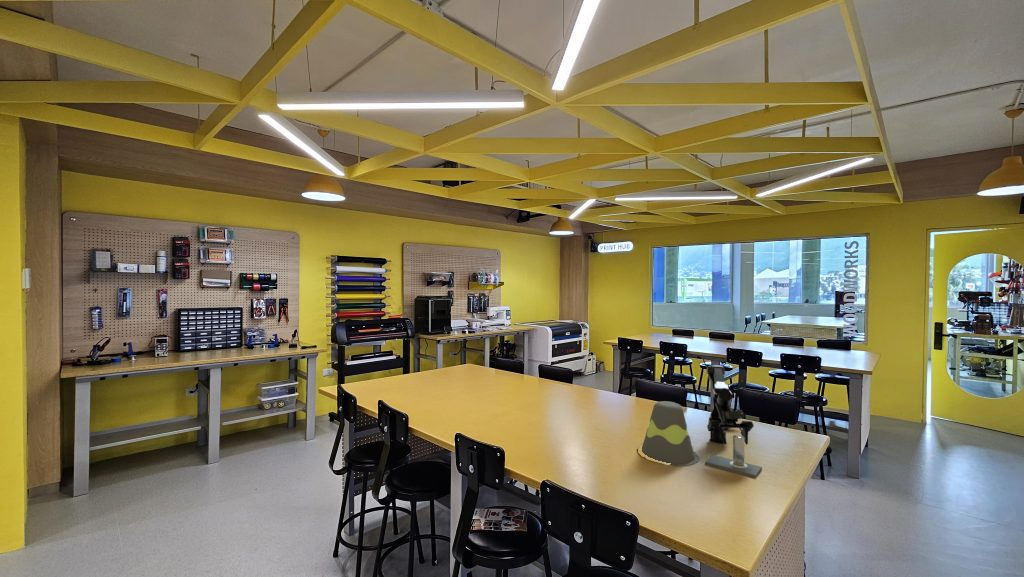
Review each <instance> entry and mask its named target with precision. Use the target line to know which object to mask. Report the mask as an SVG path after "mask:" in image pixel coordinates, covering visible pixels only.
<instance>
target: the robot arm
mask: <svg viewBox="0 0 1024 577" xmlns="http://www.w3.org/2000/svg"><path fill="white" fill-rule="evenodd" d="M706 374H707V378H708V380H709V381H710V383H711V393H712V394H711V396H712V397H711V398H712V411H711V413H710V415H709V417H708V424H707V426H706V428H707V430H708V432H709V433H710V435H709V436H710V437H709V438H710V439H709V440H708V441H710V442H713V443H717V444H724V445H727V433H726V432H728V430H729V429H739V431H740V434H741V435H740V436H743V437H744V444H745V445H748V444H749V432H750V431H752V429H753V428H754V427H755V426H754V423H753V422H752V420H742V421H741V422H740V423H738V421H739V420H741V419H742V418H744V417H745V414H744V411H743V410H742V409H736V410H737V411H736V410H732V408H731V403H732V400H733V398H734V394H733V392H732V391H731V390H730V389H729V387H730V386H729V385H727V384H726V383H725V382H726V381H725V378H724V376H725V375H726V369H725V367H724V366H723V365H716V364H714V365H709V366H707V367H706ZM731 410H732V411H731Z"/></svg>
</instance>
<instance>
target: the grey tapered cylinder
mask: <svg viewBox="0 0 1024 577" xmlns="http://www.w3.org/2000/svg"><path fill="white" fill-rule="evenodd" d="M686 420H687V419H686V417H685V413H684V408H683V407H682V405H681V404H679V403H676V402H674V401H669V400H667V401H666V400H663V401H657V402H655V404H654V405H653V409H652V412H651V415H650V419H649V424H648V427H647V429H646V432H645V437H644V440H643V443H642V445H643V446H642V452H643V453H644V454H645V455H647V456H648V457H650V458H653V459H655V460H658V461H662V462H666V463H671V464H670V465H674V466H673V467H689V466H693V465H696V464H697V463H699V462H700V460H701V458H700V455H699V454H698V453H697V452H695V451H694V449H693V445H692V441H691V437H690V435H689V431H688V426H687V421H686ZM698 461H699V462H698ZM695 463H696V464H695Z"/></svg>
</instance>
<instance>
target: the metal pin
mask: <svg viewBox="0 0 1024 577" xmlns="http://www.w3.org/2000/svg"><path fill="white" fill-rule="evenodd" d="M732 460H733V464H734V465H736V466H740V467H743V466H744V463H745V442H744V437H743V436H742V435H734V434H733V435H732Z"/></svg>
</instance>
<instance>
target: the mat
mask: <svg viewBox="0 0 1024 577" xmlns="http://www.w3.org/2000/svg"><path fill="white" fill-rule="evenodd" d="M704 465H706V466H709V467H714V468H717V469H721V470H724V471H725V470H726V471H728V472H732V473H736V474H740V475H744V476H748V477H751V478H755V479H756V478H757V477H758V475H759V474H760V473H761V471H762V470H763V467H762V466H760V465H756V464H752V463H748V462H744V466H743V467H740V466H736V465H734V464H733V458H727V457H724V456H720V455H716V454H711V455H710V457H709V458H707V459H706V460H704Z"/></svg>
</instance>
